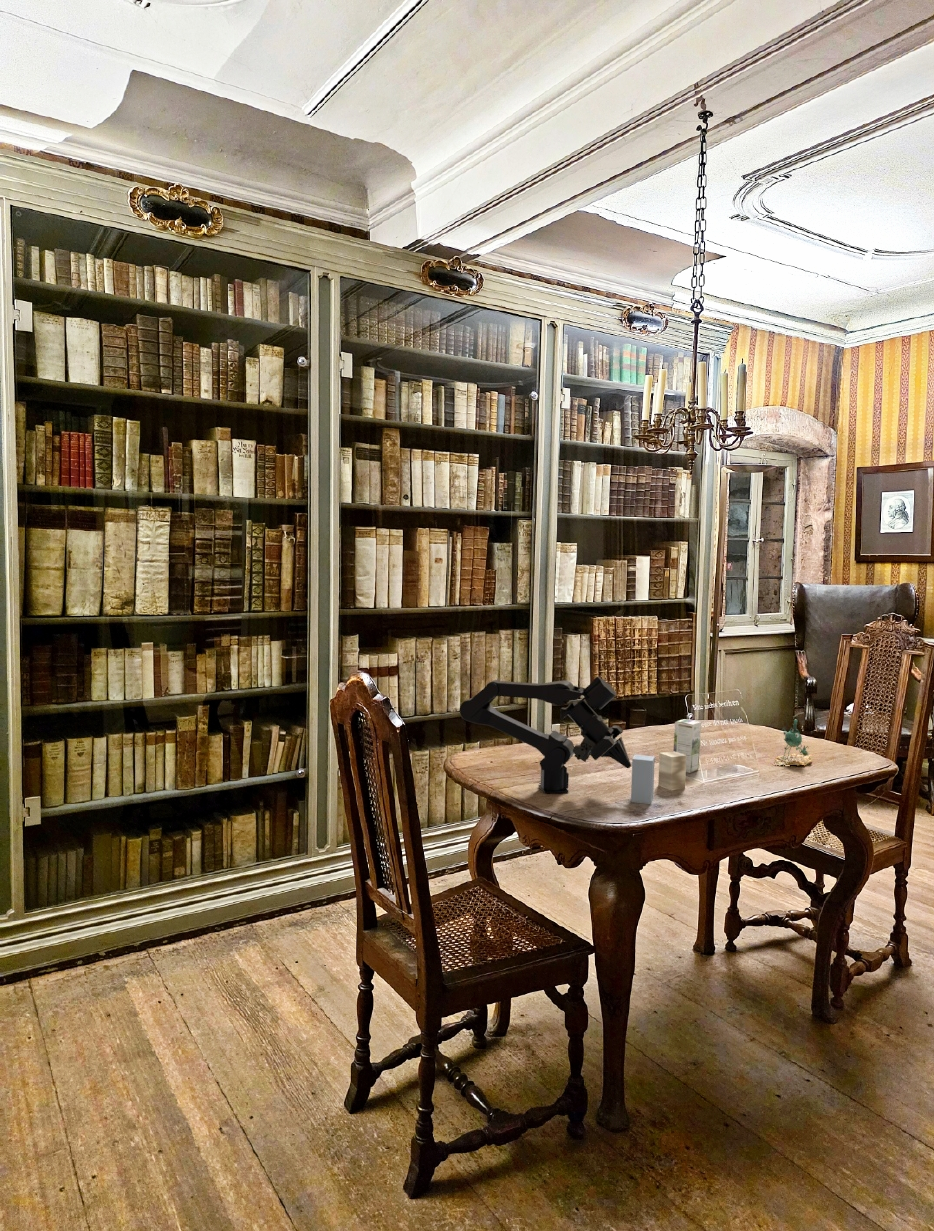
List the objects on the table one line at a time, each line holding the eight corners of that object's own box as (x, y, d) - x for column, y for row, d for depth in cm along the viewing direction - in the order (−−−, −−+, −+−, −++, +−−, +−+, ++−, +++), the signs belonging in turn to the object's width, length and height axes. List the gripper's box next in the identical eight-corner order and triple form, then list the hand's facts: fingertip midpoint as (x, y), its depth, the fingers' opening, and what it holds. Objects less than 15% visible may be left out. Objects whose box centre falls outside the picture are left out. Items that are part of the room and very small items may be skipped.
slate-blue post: (630, 801, 205) (632, 758, 204) (633, 796, 209) (634, 754, 209) (651, 804, 203) (652, 760, 202) (653, 798, 208) (654, 756, 207)
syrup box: (680, 766, 241) (682, 718, 240) (699, 770, 237) (701, 721, 236) (672, 770, 237) (674, 721, 236) (691, 773, 233) (693, 723, 232)
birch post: (670, 790, 216) (671, 757, 215) (658, 785, 220) (659, 752, 219) (685, 788, 218) (686, 755, 217) (672, 783, 222) (673, 751, 222)
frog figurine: (828, 764, 248) (827, 717, 246) (786, 776, 240) (785, 728, 238) (803, 756, 257) (802, 711, 255) (761, 768, 249) (760, 721, 247)
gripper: (572, 733, 220) (612, 777, 218) (557, 748, 203) (600, 796, 200) (602, 707, 217) (642, 751, 215) (590, 719, 200) (633, 768, 197)
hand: (629, 767), depth 207 cm, fingers closed
